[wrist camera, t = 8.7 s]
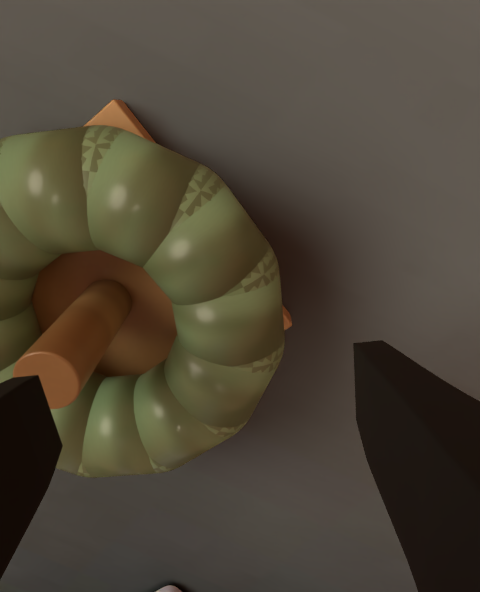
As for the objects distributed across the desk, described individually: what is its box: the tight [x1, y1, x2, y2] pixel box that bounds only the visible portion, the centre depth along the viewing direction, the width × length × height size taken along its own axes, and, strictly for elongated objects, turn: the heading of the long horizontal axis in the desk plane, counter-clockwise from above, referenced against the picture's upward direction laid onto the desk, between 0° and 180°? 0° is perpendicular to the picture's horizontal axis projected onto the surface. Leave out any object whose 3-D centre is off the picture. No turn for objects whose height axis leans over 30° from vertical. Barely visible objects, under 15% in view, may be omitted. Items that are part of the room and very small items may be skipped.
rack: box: [13, 99, 292, 409], centre depth 15 cm, size 10×10×6 cm
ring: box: [0, 125, 285, 478], centre depth 15 cm, size 12×12×4 cm
